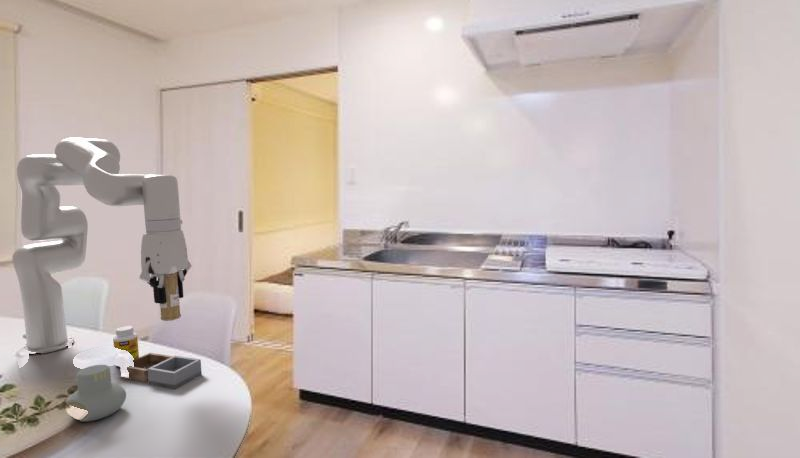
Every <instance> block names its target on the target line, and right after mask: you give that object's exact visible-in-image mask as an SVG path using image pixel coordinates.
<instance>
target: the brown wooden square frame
mask: <svg viewBox="0 0 800 458" xmlns="http://www.w3.org/2000/svg"><path fill="white" fill-rule="evenodd" d="M171 357H173V355H168V354H162V353H154V352H148V353H146V354H144V355H141V356H139V358H137V359H135V360H133V362H134V367H132V366H129V367H127V370H128V372H129V378H131V379H130V380H131V381H132V380H134V381H138V382H144V383H149V381H148V368H147V367H150V366H154V365H156V364H159V363H161V362H163V361H165V360H167V359H169V358H171ZM144 367H145V368H144Z"/></svg>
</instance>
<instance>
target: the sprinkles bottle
mask: <svg viewBox="0 0 800 458" xmlns="http://www.w3.org/2000/svg"><path fill="white" fill-rule="evenodd" d="M177 272H178V271H177V268H176V266H173V267H172V268H171V270H170V272H169V273H167V274H164V282H163V287H165V288H166V301H167V302H166V303H165V304H160V303H159V307H160V320H162V321H165V322H171V321H175V320H178V319H180V318H181V316H182V315H181V308H180V307H181V306H180V304H181V303H180V298H179V290H178V280H177Z"/></svg>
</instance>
